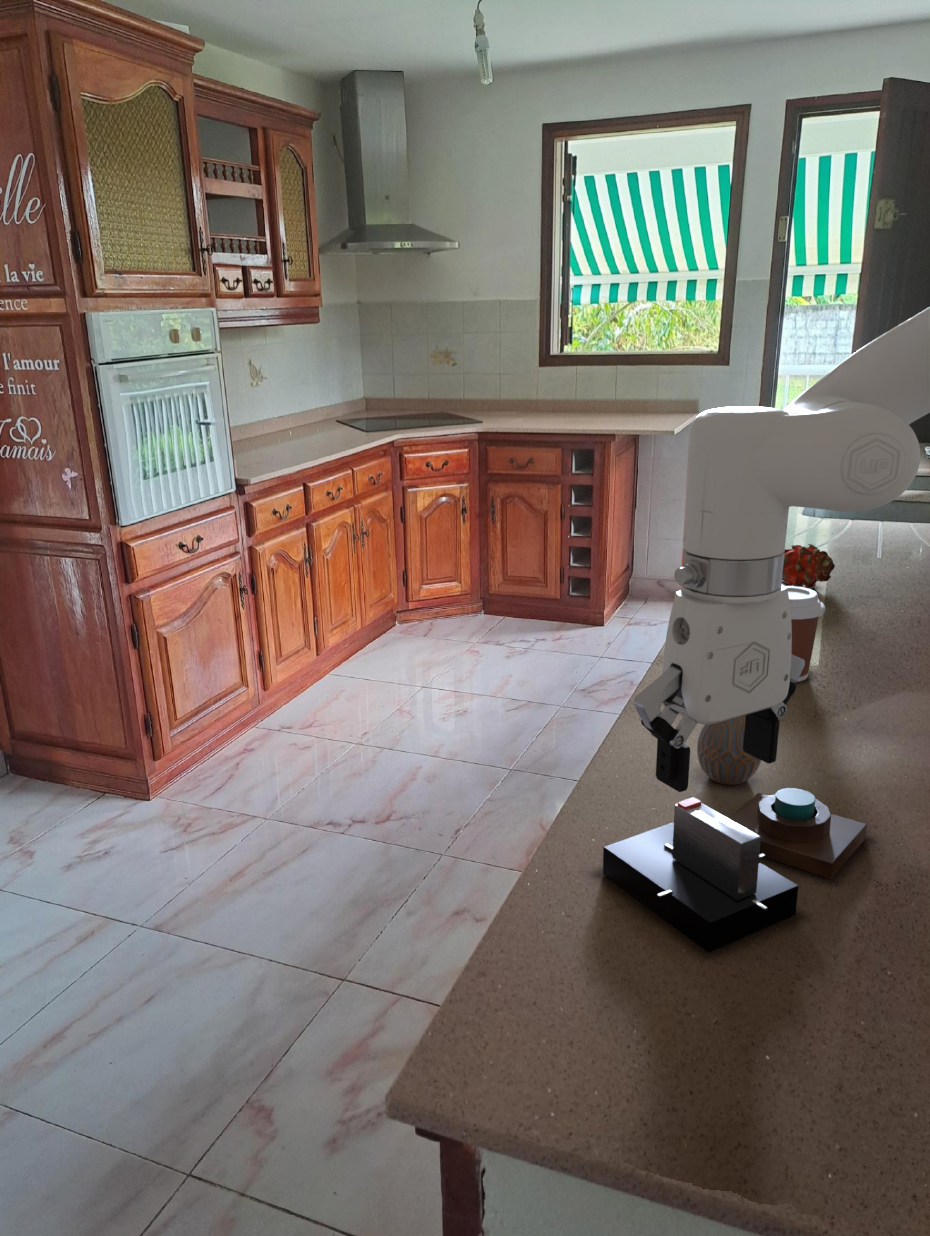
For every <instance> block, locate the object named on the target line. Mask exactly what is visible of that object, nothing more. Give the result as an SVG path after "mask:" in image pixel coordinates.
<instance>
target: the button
mask: <svg viewBox="0 0 930 1236" xmlns="http://www.w3.org/2000/svg"><path fill="white" fill-rule="evenodd" d="M775 794H776V796H775V808H774V811H775V813H776V814H778V815H779V816H781V817H785V818H788V819H793V820H807V819H811V818H813V816H814V809H815V799H816V796H815V795H814V794H813V793H811V791H808V790H805V789H800V788H797V787H796V788H795V787H786V788H781V789H779V790H778V791H776V792H775Z"/></svg>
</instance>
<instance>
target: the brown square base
mask: <svg viewBox="0 0 930 1236" xmlns="http://www.w3.org/2000/svg"><path fill="white" fill-rule="evenodd" d="M775 796H776V793H775V794H772V795H771V794H770V795H767V794H765V793H761V792H757V794H755V795H754V796H753V797H752V798H751V799H750V800H749V801H747V802H746V803H745V804H744V805H743V806H741V807H740V808H739V809H738V810H737V811H735V813H733V815H731V816H730V817H728V818H729V819H731V820H733V821H734V822H736V823H738V824H740V825H741V826H743V827H745V828H747V829H749V830H750V831H752V832H754V833H756V834H757V835H759V836H761V840H760V852H759V855H760V854H762V853H763V854H765V857H764V858H766V859H768V860H772V861H775V862H777V863H781V864H784V865H786V866H790V867H792V868H796V869H798V870H801V871H804V872H808V873H811V874H814V875H817V876H820V877H823V878H825V879H828V880H832V878H833V877H834V875H835V874H836V873H837V872H838V871H839V870H840V869H841V868H842V866H843V865H844V864H845V863H846V862H847V861H848V860H849V858H850V857H851V856H852V855H853V854H854V853H855V852H856V850H858V848H859V847H860V846H861V844H862V843H863V842H864V841H865V840H866V837H867V828H868V823H864V822H862V821H857V820H855V819H851V818H848V817H845V816H840V815H837V814H834V813H831V811H830V808H829V806H828V805H826V804H825V803H823V802H821V801H820V800H819V799H816V798H815V809H814V816H813V818H811V819H807V820H793V819H788V818H785V817H781V816H779V815H778V814H776V813H775V811H774V808H775Z"/></svg>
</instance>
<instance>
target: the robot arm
mask: <svg viewBox="0 0 930 1236" xmlns="http://www.w3.org/2000/svg"><path fill="white" fill-rule="evenodd" d="M928 414H930V306H929V307H927V308H925V309H923V310H922V311H921V312H918V313H917V314H915V315H914V316H912V317H910V318H908V319H907V320H904V321H903V322H901V323H899V324H898V325H896V326H894V327H893V328H891V329H890V330H888V331H886V332H884V333H882V334H881V335H879V336H878V337H875V339H873V340H872V341H870V342H868V343H867V344H865V345H864V346H862V347H861V348H859V349H858V350H856V352H853V353H852V354H851V355H850V356H849V357H847V358H845V360H843V361H842V362H840V363H839V364H838V365H837V366H835V367H834V368H833V369H831V370H830V371H829V372H828V373H826V374H825V375H823V376H822V377H821V378H820V379H819V380H817V381H816V382H814V383H813V384H812V385H811V386H810V387H808V388H807V389H806V390H804V391H803V392H802V393H800V394H799V395H798V396H797V397H795V399H793V400H792V402H790V403H789V404H788V405H787V406H786V407H785V408H784V410H783V409H780V408H776V407H767V406H748V405H747V406H746V405H745V406H724V407H723V406H722V407H717V408H711V409H707V410H704V411H702V412H700V413H699V414H698V415H697V416H696V417H695V418H694V419H693V421H692V422H691V425H690V428H689V435H688V450H687V466H686V467H687V468H686V485H685V486H686V487H685V502H684V503H685V505H684V520H683V533H682V535H683V537H682V556H681V567H678V568H676V569H675V571H674V574H673V575H674V580H675V583H677V584H678V585H680V590H678V591H676V592H675V595H674V597H673V598H674V599H673V601H672V602H673V603H672V606H671V610H670V615H669V618H668V624H667V630H666V634H665V635H666V636H665V642H664V648H663V649H664V650H663V658H662V668H661V669H662V670H661V674H660V675H659V676H658V677H656V679H654V680H653V681H652V682H650V683H649V685H647V686H646V687H645V688H644V689H643V690H642V691H640V692H639V693H638V694H637V695H635V697H634V699H633V705H634V707H635V709H636V711H637V714H638V716H639V718H640V723H641V726H643V727H644V728H645V729H646V730H647V732H649V733H650V735H651V737H654V738H655V739H657V744H656V759H655V760H656V761H655V762H656V763H655V777H656V779H657V781H659V782H661V783H663V784H664V785H666V786H668V787H669V788H672V789H673V790H675V791H677V792H679V793H682V792H685V791H687V790H688V787H689V779H690V778H689V777H690V762H691V761H690V760H691V747H690V746H689V745H687V744H685V743H686V742H687V740H688V738H689V737H690V735H691V734H692V732H693V731H694V729H695V727H696V726H697V725H698V724H700V725H703V726H704V725H710V724H715V723H719V722H723V721H726V720H730V719H733V718H737V717H740V716H744V715H746V718H745V729H744V741H743V751H744V752H746V753H748V754H750V755H752V756H754V757H756V758H758V759H760V760H761V762H764V763H766V764H773V763H776V761H777V752H778V742H779V735H780V733H779V732H780V724H781V720H780V719H782V718H784V717H785V716H786V714H787V712H788V708H787V704H788V703H789V701H790V700H791V698H792V697H793V696H794V694H795V693H796V691H797V684H796V683H798V682H799V681H798V679H799V677H800V675H801V673H802V670H803V668H804V666H805V660H804V659H802V658H799V657H797V656H795V655H793V654H791V651H792V625H791V610H790V601H789V595H788V590H787V587H786V586H787V585H785V584H783V583H782V574H783V564H784V553H785V549H786V543H787V542H786V541H787V534H788V533H787V531H788V521H789V511H790V508H791V507H796V508H807V509H816V510H817V509H818V510H826V511H834V512H844V513H859V512H867V511H872V510H875V509H878V508H881V507H884V506H886V505H887V504H890V503H892V502H893V501H895V500H896V499H898V498H899V497H900V496H901V495H903V494H904V493H905V492H906V491H907V490H908V488H909V487H911V484H912V483H913V482H914V480H915V478H916V476H917V474H918V471H919V468H920V464H921V446H920V443H919V439H918V438H917V434H916V433H915V431H914V429H913V428H912V427H911V426H910V425H911V424H912V423H914V422H915V421H917V420H919V419H921V418H923V417H925V416H926V415H928ZM797 681H798V682H797ZM662 705H663V706H664V707H663V709H662V711H661V706H662ZM678 715H679V716H681V717H682V718H681V719H680V721H679V723H677V725H676V727H673V726H672V724H673V723H674V721H675V720H676V718H677V717H678Z"/></svg>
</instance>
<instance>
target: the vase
mask: <svg viewBox="0 0 930 1236" xmlns="http://www.w3.org/2000/svg"><path fill="white" fill-rule="evenodd" d="M745 718H746V715H744V716H740V717H737V718H733V719H730V720H726V721H723V722H719V723H715V724H710V725H704V724H703V726H702V727H701V729H700V732H699V734H698V738H697V744H696V750H697V751H696V752H697V755H696V756H697V759H698V763H699V766H700V768H701V769H702V771H703V773H704V774H705V775H706V776H707V777H708V778H709V779H710V780H711V781H713V782H715V783H717V784H721V785H726V786H727V785H728V786H735V785H740V784H743V783H745V782H746V781H748V780H749V779H751V778H752V777H753V776H754V775H755V774H756V772H757V771H758V769H759V767H760V764H761V762H762V760H760V759H758V758H756V757H754V756H752V755H750V754H748V753H746V752H744V751H743V741H744V729H745Z"/></svg>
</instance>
